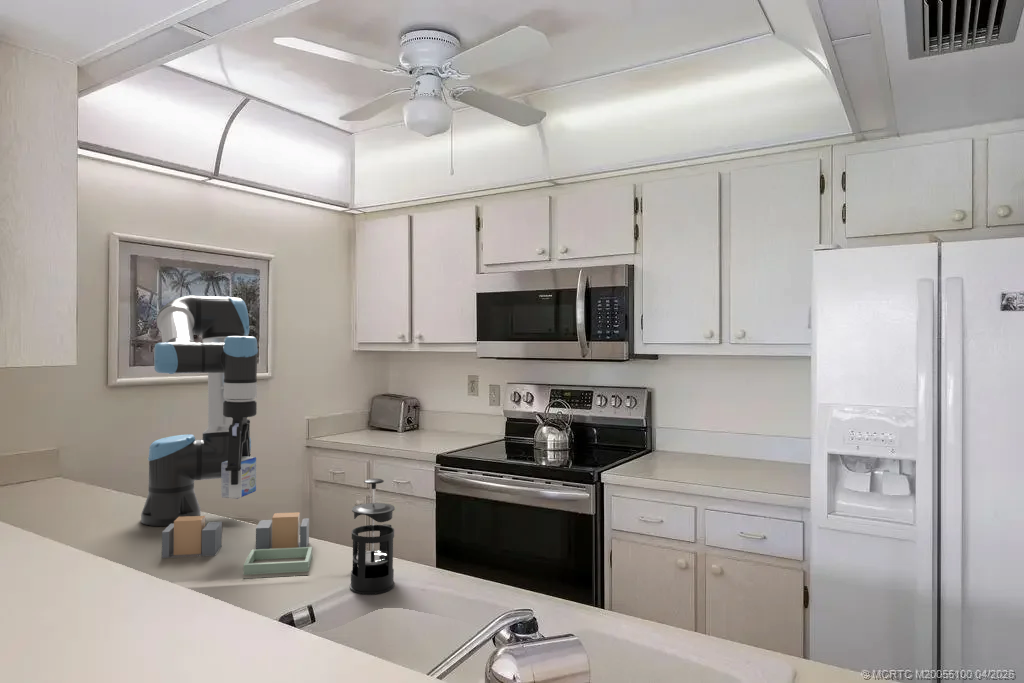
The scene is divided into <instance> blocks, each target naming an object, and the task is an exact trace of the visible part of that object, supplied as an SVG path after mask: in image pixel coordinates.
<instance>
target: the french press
mask: <svg viewBox="0 0 1024 683" xmlns="http://www.w3.org/2000/svg"><path fill="white" fill-rule="evenodd" d="M363 482H364V484H369V485H370V484H371V490H372V502H368V503H361V504H357V505H355V506H353V507H352V508H351V512H352V513H353V520H356V518H358V517H359V516H362V515H363V516H367V517H369V518H371V519H372V524H368V525H367V524H366V525H361V526H358V527H355V528H353V529H352V530H351V540H352V570H351V571H350V583H349V589H350V592H351V591H352V592H353V593H354V594H359V595H365V596H370V595H380V594H383V593H387V592H389V591H391V590H393V589H394V587H395V581H394V576H395V575H394V572H395V570H394V564H393V563H394V538H395V529H394V528H393V527H392V525H391V524H387V523H385V522H388V521H391V520H392V519H393V512H394V511H395V509H396V508H395V506H394V505H392V504H389V503H383V502H375V490H376V489H377V484H382V483H384V482H385V480H383V479H382V478H375V477H374V478H368V479H367V478H366V479H364V481H363ZM375 522H377V523H383V524H375ZM365 532H372V534H371V536H364V535H359V534H361V533H365ZM375 532H379V535H378V536H375ZM367 544H371V550H366V547H367ZM375 544H379V550H378V549H376V550H375V549H374V547H375Z"/></svg>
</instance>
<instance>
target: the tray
mask: <svg viewBox="0 0 1024 683" xmlns="http://www.w3.org/2000/svg"><path fill="white" fill-rule="evenodd" d="M295 558H297V559H298V558H305V559H304V560H296V561H295V560H294V561H293V560H292V561H274V562H272V561H271V562H255V560H256V561H257V560H275V559H276V560H277V559H295ZM312 558H313V546H308V547H296V548H275V549H256V548H255V549H254V548H253V549H251V550H250V553H249V554H248V556H247V557H246V560H245V561H244V563H243V568H242V569H243V573H242V574H243V575H244V576H248V575H264V574H268V575H269V574H282V573H283V574H284V573H303V572H309V570H310V566H311V562H312ZM306 576H307V577H308V576H309V574H306V575H305V574H303V575H302V574H301V575H296V577H306ZM289 577H290V578H291V577H293V575H283V576H277V578H289ZM270 578H272V579H273V578H275V576H264V577H263V576H262V577H259V579H270ZM251 579H257V577H245V578H243V579H242V580H251Z"/></svg>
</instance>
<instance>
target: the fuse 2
mask: <svg viewBox="0 0 1024 683" xmlns="http://www.w3.org/2000/svg"><path fill="white" fill-rule="evenodd" d="M300 515H301V512H300V511H299V512H276V513H275V512H274V514H273V516H272V519H271V520H272V549H275V548H296V547H299V542H300V526H301V523H300V522H301V521H300V519H301V517H300Z"/></svg>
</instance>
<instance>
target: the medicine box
mask: <svg viewBox="0 0 1024 683" xmlns="http://www.w3.org/2000/svg"><path fill="white" fill-rule="evenodd" d="M227 464H228V461H225V462H222V465H221V478H220V479H221V480H220V481H221V484H220V485H221V486H220V487H221V490H220V491H221V494H220V495H221V498H224V499H230V498H229V471H225V468H227ZM241 470H242V496H241V498H243V497H245V496H248V495H250V494H253V493H254V492H256V491H257V457H256V456H250V457H249V456H242V459H241ZM233 499H235V500H238V499H240V498H232V500H233Z"/></svg>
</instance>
